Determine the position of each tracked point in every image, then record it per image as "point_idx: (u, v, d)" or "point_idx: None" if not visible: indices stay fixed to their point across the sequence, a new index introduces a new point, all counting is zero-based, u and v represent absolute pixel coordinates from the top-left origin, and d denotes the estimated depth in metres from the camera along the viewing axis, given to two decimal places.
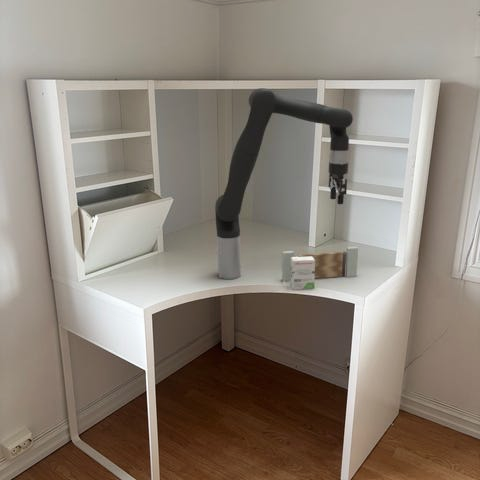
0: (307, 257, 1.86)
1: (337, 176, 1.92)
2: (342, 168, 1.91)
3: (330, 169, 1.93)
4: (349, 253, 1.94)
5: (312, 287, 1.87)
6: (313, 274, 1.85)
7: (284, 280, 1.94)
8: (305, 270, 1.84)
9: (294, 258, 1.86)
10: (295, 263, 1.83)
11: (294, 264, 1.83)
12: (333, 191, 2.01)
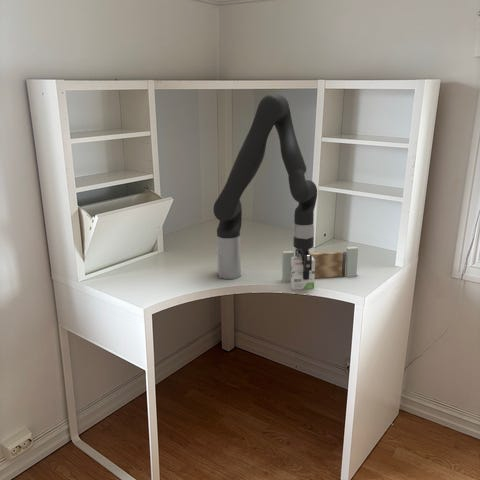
0: None
1: (302, 251, 1.82)
2: (307, 243, 1.80)
3: (294, 243, 1.82)
4: (349, 253, 1.94)
5: (312, 287, 1.87)
6: (313, 274, 1.85)
7: (284, 280, 1.94)
8: None
9: (294, 258, 1.86)
10: (295, 264, 1.83)
11: (294, 264, 1.83)
12: None
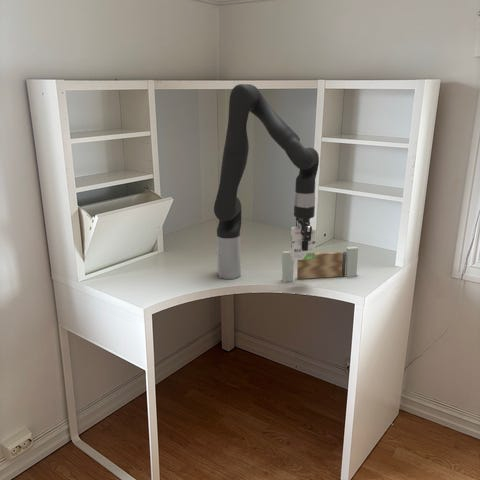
0: None
1: (302, 220, 1.78)
2: (308, 212, 1.76)
3: (295, 212, 1.78)
4: (349, 253, 1.94)
5: (312, 258, 1.83)
6: (313, 244, 1.81)
7: (284, 280, 1.94)
8: None
9: (294, 228, 1.82)
10: (295, 233, 1.80)
11: (294, 233, 1.80)
12: None
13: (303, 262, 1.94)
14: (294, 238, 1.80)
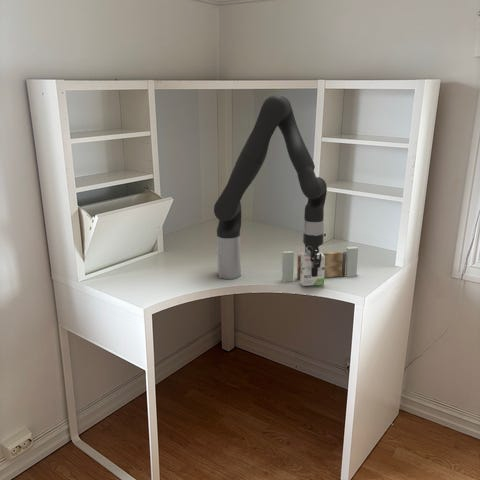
0: None
1: (312, 247, 1.82)
2: (317, 240, 1.81)
3: (304, 240, 1.83)
4: (349, 253, 1.94)
5: (322, 283, 1.88)
6: (323, 270, 1.86)
7: (284, 280, 1.94)
8: None
9: (304, 254, 1.86)
10: (305, 260, 1.84)
11: (304, 260, 1.84)
12: None
13: None
14: (304, 265, 1.85)
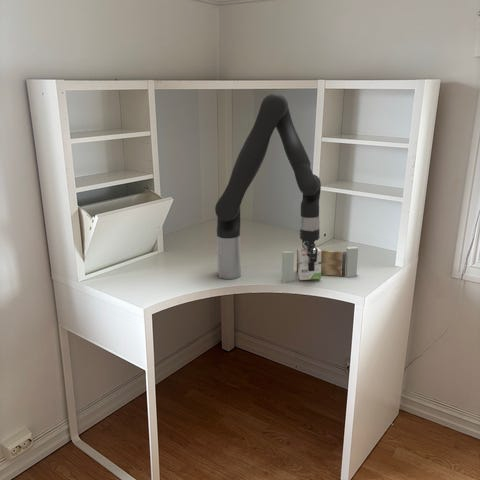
0: None
1: (308, 243, 1.88)
2: (313, 235, 1.86)
3: (301, 235, 1.88)
4: (349, 253, 1.94)
5: (319, 277, 1.93)
6: (320, 265, 1.91)
7: (284, 280, 1.94)
8: None
9: (301, 249, 1.92)
10: (302, 255, 1.90)
11: (301, 255, 1.90)
12: None
13: None
14: (301, 259, 1.90)
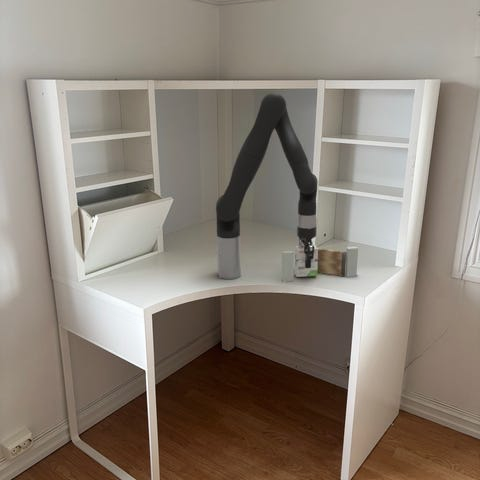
0: None
1: (305, 240, 1.91)
2: (310, 233, 1.89)
3: (298, 233, 1.91)
4: (349, 253, 1.94)
5: (315, 274, 1.96)
6: (316, 262, 1.95)
7: (284, 280, 1.94)
8: None
9: (298, 247, 1.95)
10: (299, 252, 1.93)
11: (298, 252, 1.93)
12: None
13: None
14: (298, 256, 1.94)
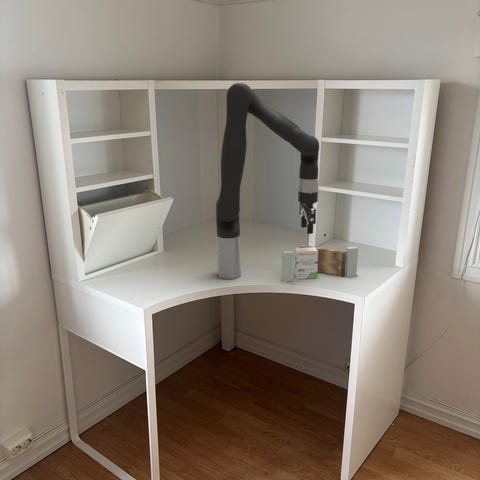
0: (310, 248, 1.96)
1: (306, 205, 1.86)
2: (311, 197, 1.84)
3: (299, 198, 1.86)
4: (349, 253, 1.94)
5: (315, 276, 1.97)
6: (316, 264, 1.95)
7: (284, 280, 1.94)
8: (308, 260, 1.94)
9: (298, 249, 1.95)
10: (299, 254, 1.93)
11: (298, 255, 1.93)
12: (304, 219, 1.95)
13: None
14: (298, 259, 1.94)
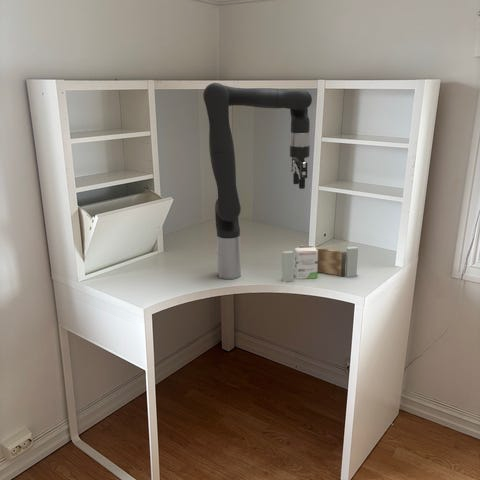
0: (310, 248, 1.96)
1: (298, 160, 1.86)
2: (303, 151, 1.84)
3: (291, 152, 1.86)
4: (349, 253, 1.94)
5: (315, 276, 1.97)
6: (316, 264, 1.95)
7: (284, 280, 1.94)
8: (308, 260, 1.94)
9: (298, 249, 1.95)
10: (299, 254, 1.93)
11: (298, 255, 1.93)
12: (296, 176, 1.95)
13: None
14: (298, 259, 1.94)
